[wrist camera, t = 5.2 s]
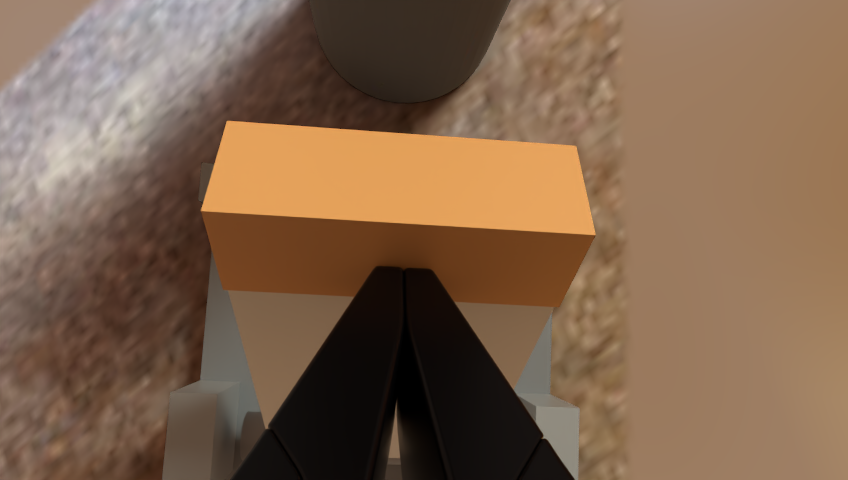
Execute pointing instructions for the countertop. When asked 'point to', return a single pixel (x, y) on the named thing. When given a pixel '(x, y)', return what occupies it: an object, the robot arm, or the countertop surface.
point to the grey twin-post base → (235, 395)
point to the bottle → (406, 43)
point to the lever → (387, 238)
